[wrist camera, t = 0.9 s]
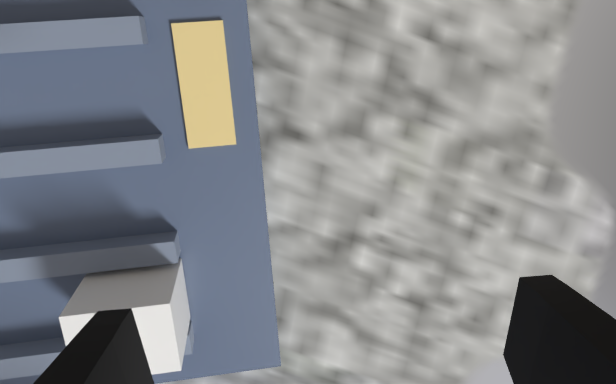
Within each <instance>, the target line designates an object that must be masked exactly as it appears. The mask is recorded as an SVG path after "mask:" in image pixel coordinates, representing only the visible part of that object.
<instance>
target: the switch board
mask: <svg viewBox="0 0 616 384" xmlns="http://www.w3.org/2000/svg"><path fill="white" fill-rule="evenodd" d="M179 259H182V265H183V271H184V278H185V284H186V291H187V297H188V304H189V310H190V322H189V328H188V334H187V340H186V346H185V352H184V358H183V364H182V369H181V371H175V372H168V373H161V374H154V375H152V378H153V381H154V384H156V383H163V382H170V381H178V380H185V379H192V378H199V377H206V376H213V375H221V374H228V373H235V372H242V371H249V370H256V369H263V368H271V367H278V366H281V361H280V351H279V340H278V330H277V319H276V309H275V298H274V287H273V277H272V266H271V256H270V245H269V235H268V224H267V214H266V203H265V192H264V182H263V171H262V161H261V150H260V140H259V129H258V119H257V108H256V98H255V87H254V76H253V66H252V55H251V45H250V34H249V24H248V13H247V3H246V0H0V384H33V383H34V382H35V381H36V380H37V379H38V377H39V376H40V375H41V374H42V373H43V372H44V371H45V370H46V368H47V367H48V366H49V365H50V364H51V363H52V362H53V361H54V360H55V358H56V357H57V356H58V355H59V354H60V353H61V352H62V351H63V349H64V348H65V347H66V345H65V341H64V337H63V333H62V329H61V325H60V321H59V316H60V314H61V313H62V311H63V310H64V308H65V306H66V305H67V303H68V302H69V300H70V299H71V297H72V295H73V294H74V292H75V291H76V289H77V288H78V286H79V285H80V283H81V281H82V280H83V278H84V277H85V275H86V274H87V273H94V272H103V271H111V270H120V269H129V268H138V267H146V266H155V265H164V264H173V263H178V260H179Z"/></svg>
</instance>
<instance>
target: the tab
mask: <svg viewBox="0 0 616 384" xmlns="http://www.w3.org/2000/svg"><path fill="white" fill-rule="evenodd" d="M129 308H132V312H133V315H134V318H135V321H136V325H137V328H138V331H139V335H140V338H141V341H142V345H143V348H144V351H145V354H146V358H147V361H148V364H149V368H150V371H151V374H152V375H154V374H161V373H168V372H175V371H181V369H182V364H183V358H184V352H185V346H186V340H187V334H188V328H189V322H190V310H189V304H188V297H187V291H186V284H185V278H184V271H183V265H182V259H179V260H178V263H173V264H164V265H155V266H146V267H138V268H129V269H120V270H111V271H103V272H94V273H87V274H86V275H85V277H84V278H83V280H82V281H81V283H80V285H79V286H78V288H77V289H76V291H75V292H74V294H73V295H72V297H71V299H70V300H69V302H68V303H67V305H66V306H65V308H64V310H63V311H62V313H61V314H60V316H59V321H60V325H61V329H62V333H63V337H64V341H65V345H66V346H67V345H68V344H69V343H70V341H71V340H72V339H73V338H74V337H75V336H76V335H77V334H78V332H79V331H80V330H81V329H82V328H83V327H84V326H85V325H86V324H87V323H88V321H89V320H90V319H91V318H92V317H93V316H94V315H95V314H96V313H97V312H98V311H104V310H117V309H129Z"/></svg>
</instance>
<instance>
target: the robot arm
mask: <svg viewBox="0 0 616 384" xmlns="http://www.w3.org/2000/svg"><path fill="white" fill-rule="evenodd" d="M503 355H504V358H505V361H506V364H507V366H508V369H509V372H510V375H511V377H512V380H513V383H514V384H616V319H614V318H613V317H612V316H610V315H609V314H607V313H606V312H604V311H603V310H602V309H600V308H599V307H597V306H596V305H595V304H593V303H592V302H590V301H589V300H588V299H586V298H585V297H583V296H582V295H581V294H579V293H578V292H576V291H575V290H573V289H572V288H571V287H569V286H568V285H566V284H565V283H563V282H562V281H560V280H559V279H557V278H556V277H554V276H553V275H544V276H531V277H520V278H519V282H518V287H517V292H516V297H515V301H514V306H513V311H512V316H511V320H510V325H509V330H508V335H507V339H506V344H505V349H504V354H503ZM33 384H154V381H153V378H152V374H151V371H150V368H149V364H148V361H147V358H146V354H145V351H144V348H143V345H142V341H141V338H140V335H139V331H138V328H137V325H136V321H135V318H134V315H133V312H132V308H129V309H117V310H104V311H98V312H97V313H96V314H95V315H94V316H93V317H92V318H91V319H90V320H89V321H88V323H87V324H86V325H85V326H84V327H83V328H82V329H81V330H80V331H79V332H78V334H77V335H76V336H75V337H74V338H73V339H72V340H71V341H70V343H69V344H68V345H67V346H66V347H65V348H64V349H63V351H62V352H61V353H60V354H59V355H58V356H57V357H56V358H55V360H54V361H53V362H52V363H51V364H50V365H49V366H48V367H47V368H46V370H45V371H44V372H43V373H42V374H41V375H40V376H39V377H38V379H37V380H36V381H35V382H34V383H33Z"/></svg>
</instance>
